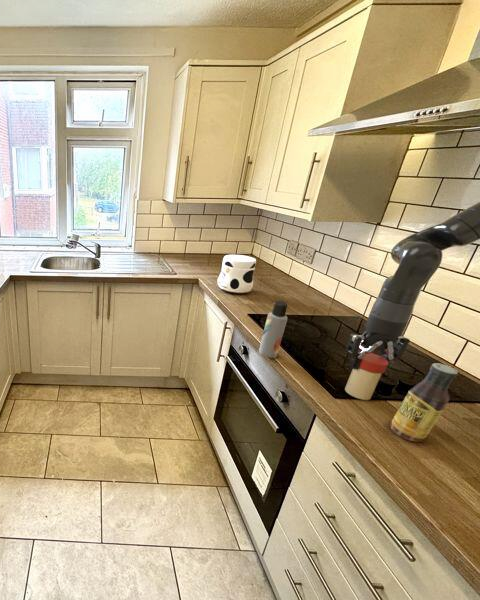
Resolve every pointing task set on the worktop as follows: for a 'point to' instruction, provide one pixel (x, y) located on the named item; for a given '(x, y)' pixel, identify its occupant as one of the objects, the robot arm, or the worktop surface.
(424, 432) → the sauce bottle
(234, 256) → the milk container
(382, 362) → the jar lid
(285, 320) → the lotion bottle
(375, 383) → the jar
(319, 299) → the worktop surface
